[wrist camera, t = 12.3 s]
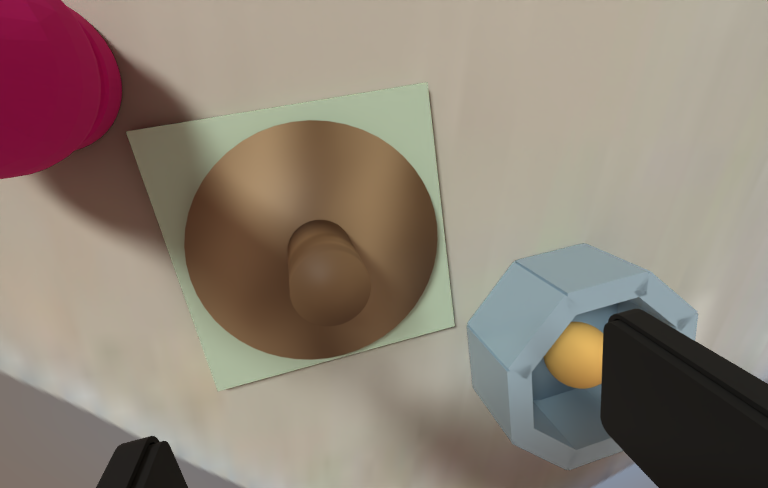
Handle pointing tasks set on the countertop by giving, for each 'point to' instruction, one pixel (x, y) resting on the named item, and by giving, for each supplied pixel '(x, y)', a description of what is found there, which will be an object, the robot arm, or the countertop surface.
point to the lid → (310, 240)
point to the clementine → (577, 356)
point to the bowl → (541, 330)
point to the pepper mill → (51, 85)
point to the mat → (220, 134)
